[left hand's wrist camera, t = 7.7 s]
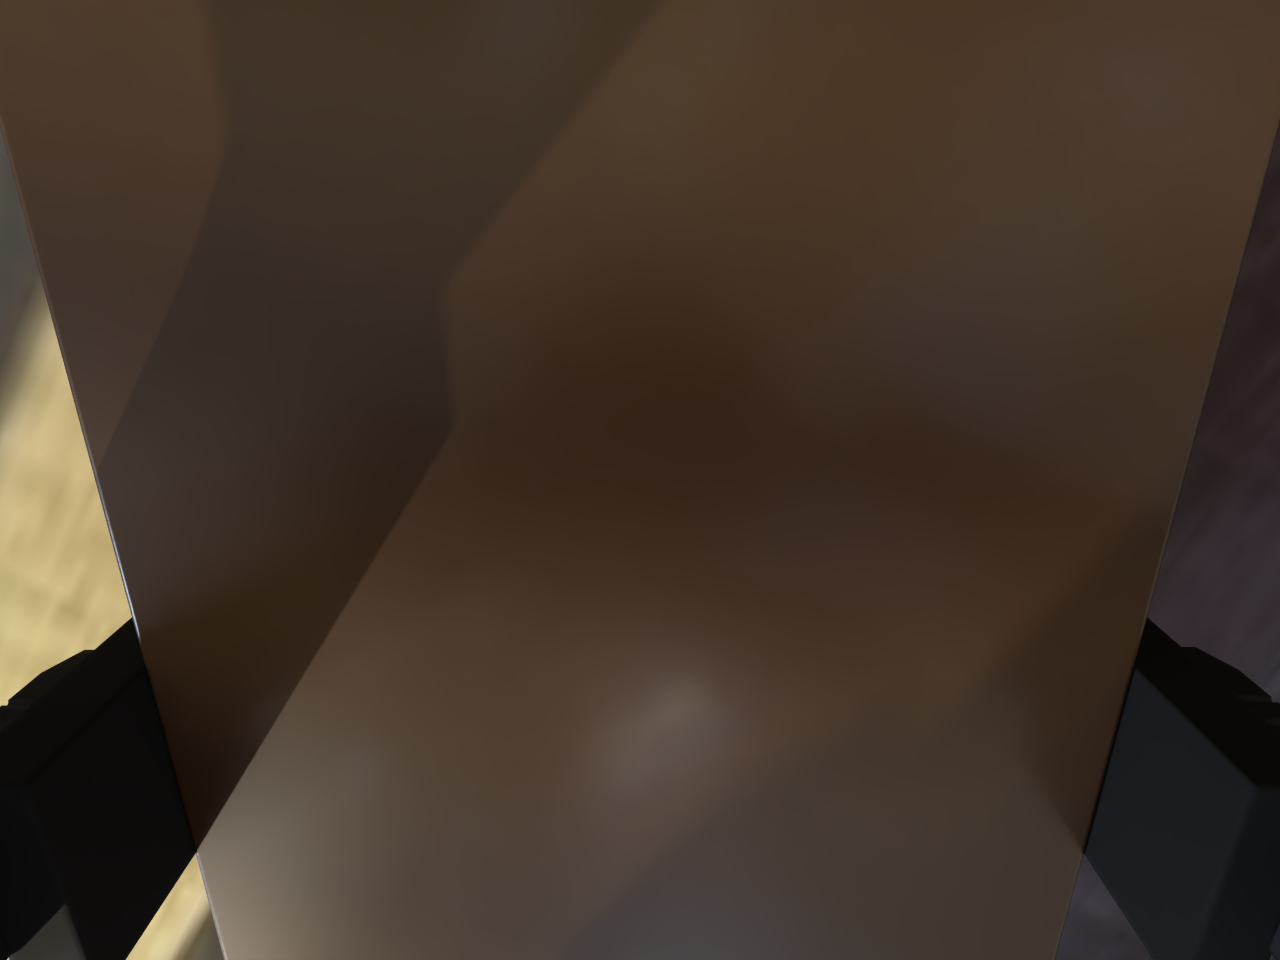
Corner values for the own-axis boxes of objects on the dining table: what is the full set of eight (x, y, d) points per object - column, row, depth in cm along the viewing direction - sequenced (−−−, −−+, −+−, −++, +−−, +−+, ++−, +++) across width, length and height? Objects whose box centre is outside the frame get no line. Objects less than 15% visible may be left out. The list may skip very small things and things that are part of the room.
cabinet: (284, -315, 12) (-373, -1225, 4) (996, -315, 12) (1650, -1227, 4) (407, 658, 18) (234, 1010, 10) (872, 658, 18) (1043, 1012, 10)
